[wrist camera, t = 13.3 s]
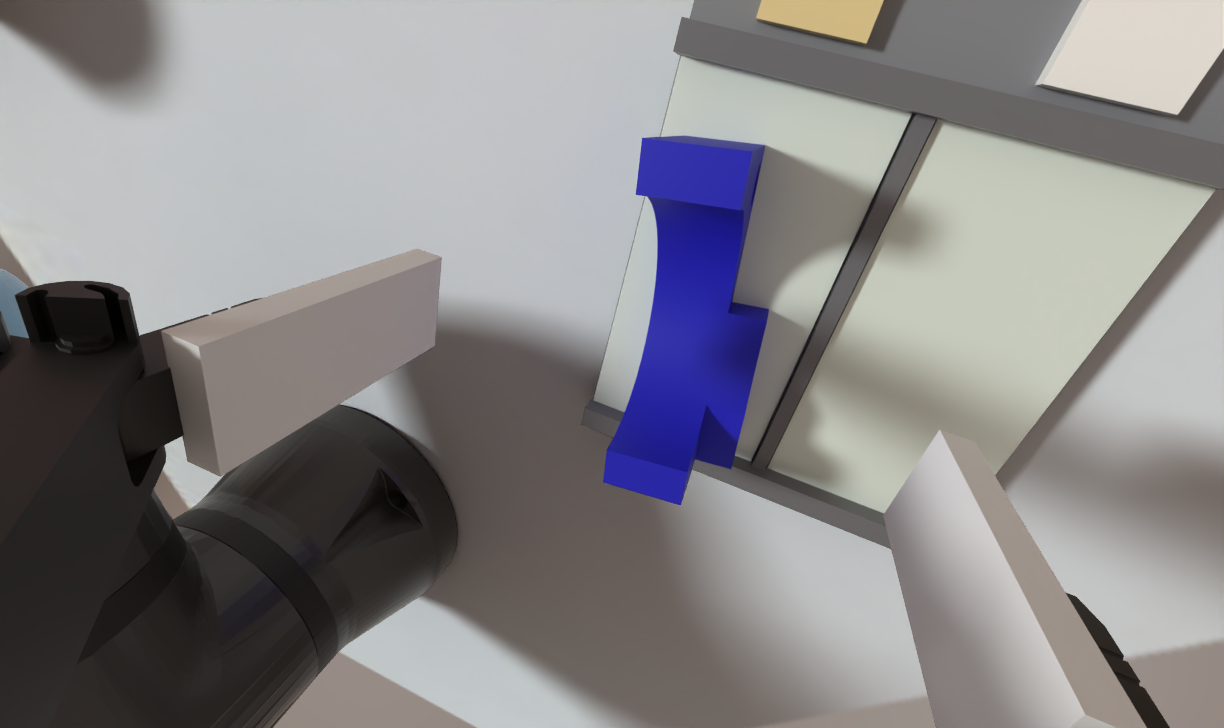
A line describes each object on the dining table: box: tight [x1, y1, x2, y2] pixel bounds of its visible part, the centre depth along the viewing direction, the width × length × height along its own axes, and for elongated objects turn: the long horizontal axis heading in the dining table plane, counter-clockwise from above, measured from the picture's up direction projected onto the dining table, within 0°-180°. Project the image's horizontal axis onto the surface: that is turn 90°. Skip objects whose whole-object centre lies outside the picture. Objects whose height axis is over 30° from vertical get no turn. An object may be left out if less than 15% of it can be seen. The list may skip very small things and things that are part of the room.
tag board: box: [581, 0, 1224, 549], centre depth 20 cm, size 17×21×2 cm
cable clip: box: [603, 135, 769, 505], centre depth 19 cm, size 12×4×6 cm, turn 174°
